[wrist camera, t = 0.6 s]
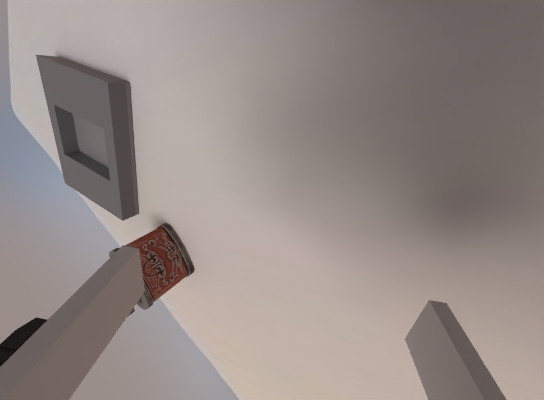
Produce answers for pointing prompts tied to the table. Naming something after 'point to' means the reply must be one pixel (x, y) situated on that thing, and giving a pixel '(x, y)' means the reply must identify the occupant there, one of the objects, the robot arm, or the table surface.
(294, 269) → the table surface
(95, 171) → the dock
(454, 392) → the robot arm
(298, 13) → the table surface
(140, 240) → the lighter
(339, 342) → the table surface
